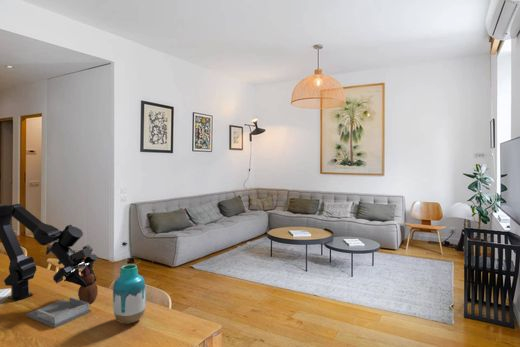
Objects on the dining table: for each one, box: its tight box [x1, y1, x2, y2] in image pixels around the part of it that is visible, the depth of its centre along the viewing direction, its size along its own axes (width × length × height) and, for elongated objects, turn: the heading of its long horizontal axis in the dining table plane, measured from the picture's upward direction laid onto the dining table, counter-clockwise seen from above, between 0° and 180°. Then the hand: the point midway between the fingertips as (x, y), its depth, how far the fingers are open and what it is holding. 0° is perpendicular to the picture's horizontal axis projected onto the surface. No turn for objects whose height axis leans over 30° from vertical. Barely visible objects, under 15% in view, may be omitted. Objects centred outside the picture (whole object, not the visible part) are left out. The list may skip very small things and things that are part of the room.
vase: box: [112, 263, 147, 324], centre depth 115 cm, size 11×11×19 cm
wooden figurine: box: [77, 266, 99, 305], centre depth 129 cm, size 7×6×15 cm
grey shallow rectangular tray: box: [26, 296, 92, 329], centre depth 120 cm, size 17×13×4 cm
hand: (91, 283), depth 129 cm, fingers closed on wooden figurine, 5 cm apart
